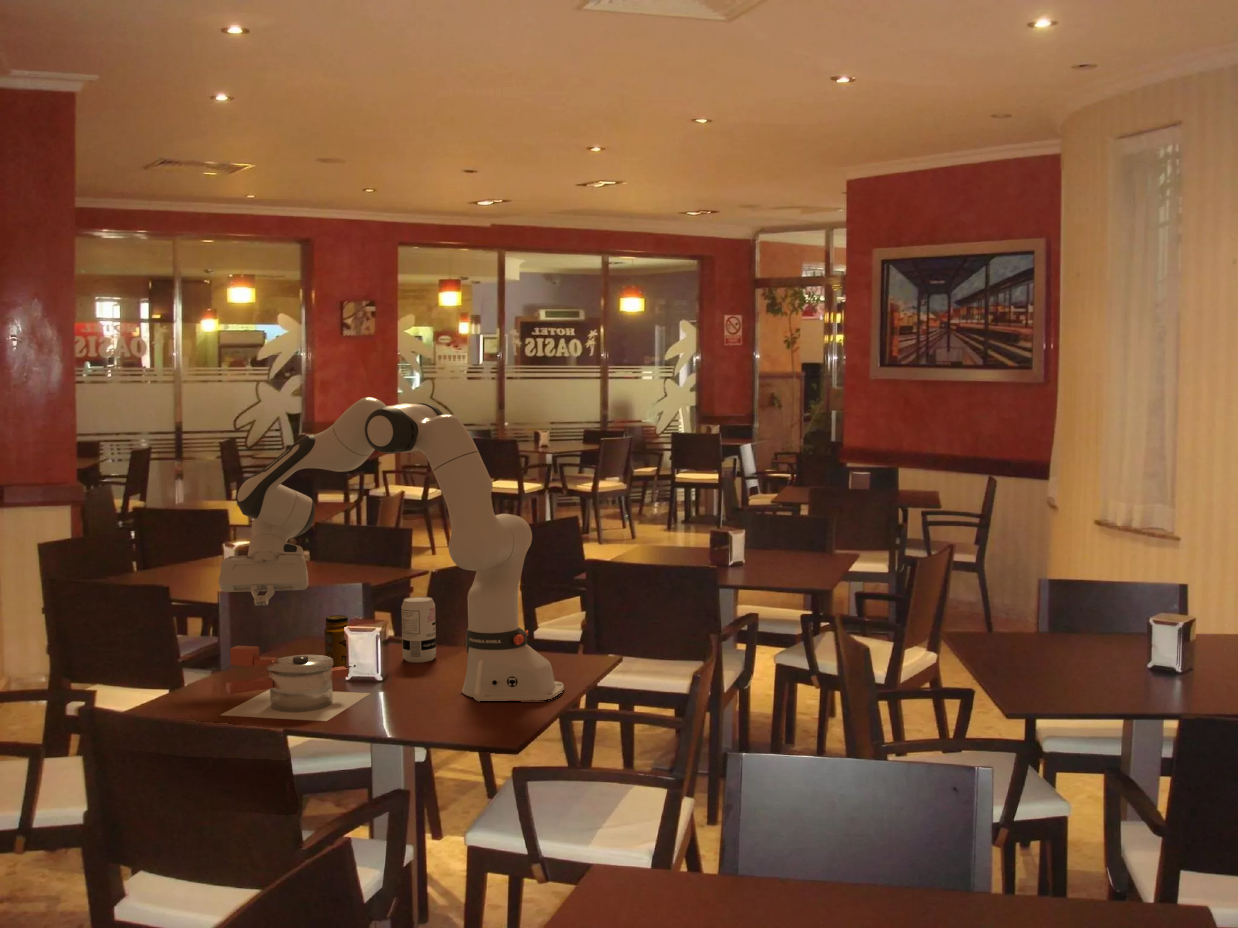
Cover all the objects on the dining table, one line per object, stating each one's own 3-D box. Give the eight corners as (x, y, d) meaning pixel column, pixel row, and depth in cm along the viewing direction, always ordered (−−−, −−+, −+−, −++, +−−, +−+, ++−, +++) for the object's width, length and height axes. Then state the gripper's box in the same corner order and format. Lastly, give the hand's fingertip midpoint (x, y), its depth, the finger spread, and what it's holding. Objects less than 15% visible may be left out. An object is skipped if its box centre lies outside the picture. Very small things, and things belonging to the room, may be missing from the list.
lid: (343, 660, 278) (343, 644, 278) (315, 675, 265) (315, 658, 265) (250, 656, 283) (249, 640, 283) (217, 671, 270) (217, 654, 270)
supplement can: (400, 656, 318) (399, 597, 317) (433, 654, 321) (432, 595, 320) (405, 664, 311) (403, 603, 309) (438, 661, 313) (437, 601, 312)
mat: (370, 694, 282) (370, 693, 282) (326, 722, 261) (326, 720, 261) (271, 689, 287) (271, 688, 287) (220, 716, 266) (220, 714, 266)
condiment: (356, 666, 309) (355, 617, 308) (323, 671, 305) (321, 621, 304) (345, 660, 315) (344, 612, 314) (312, 665, 311) (310, 616, 310)
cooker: (352, 696, 280) (351, 660, 279) (311, 721, 260) (310, 682, 260) (269, 691, 284) (267, 656, 284) (222, 716, 265) (220, 678, 264)
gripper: (219, 548, 300) (212, 597, 291) (308, 546, 302) (303, 594, 293) (224, 564, 305) (217, 612, 296) (311, 562, 307) (307, 610, 298)
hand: (260, 603), depth 294 cm, fingers closed
